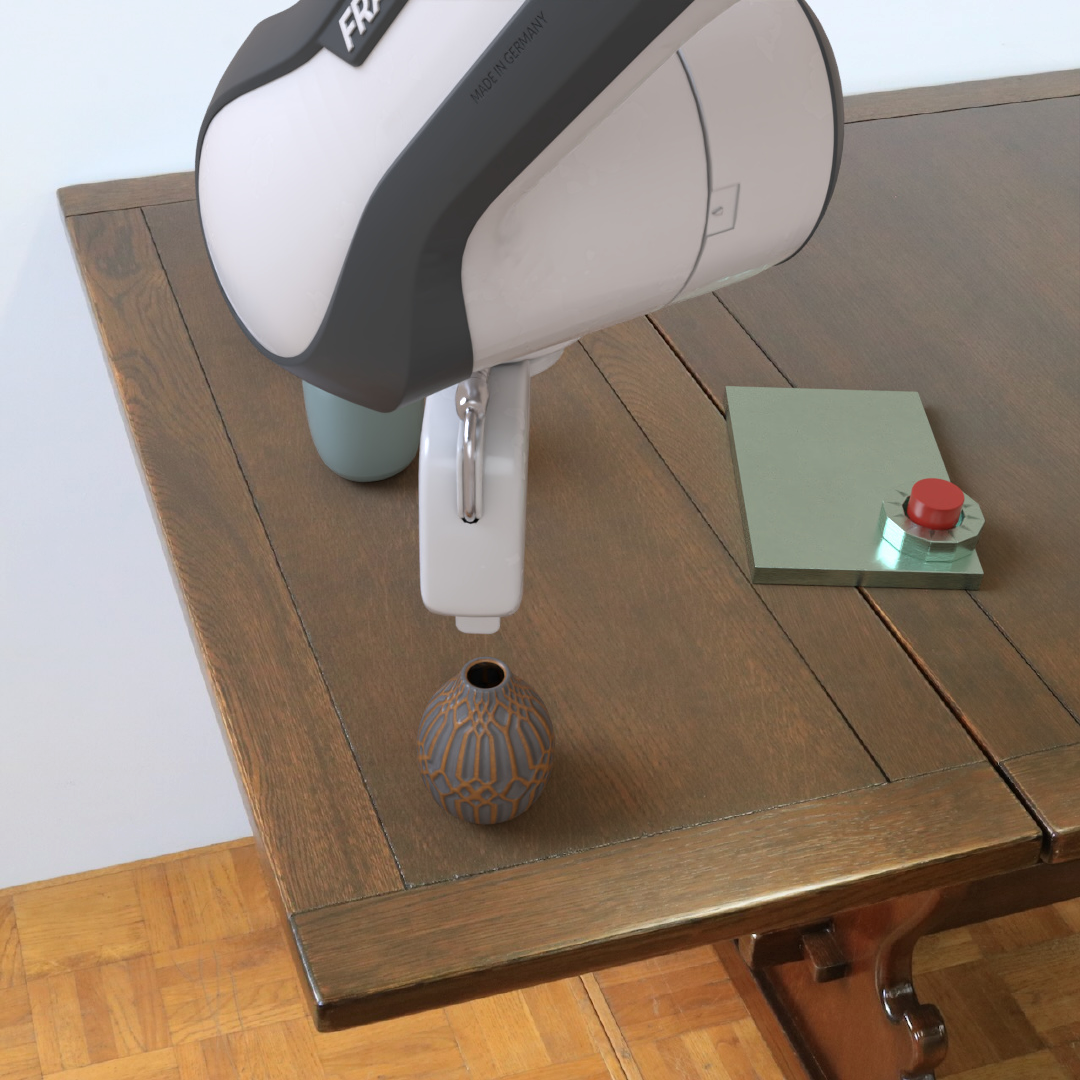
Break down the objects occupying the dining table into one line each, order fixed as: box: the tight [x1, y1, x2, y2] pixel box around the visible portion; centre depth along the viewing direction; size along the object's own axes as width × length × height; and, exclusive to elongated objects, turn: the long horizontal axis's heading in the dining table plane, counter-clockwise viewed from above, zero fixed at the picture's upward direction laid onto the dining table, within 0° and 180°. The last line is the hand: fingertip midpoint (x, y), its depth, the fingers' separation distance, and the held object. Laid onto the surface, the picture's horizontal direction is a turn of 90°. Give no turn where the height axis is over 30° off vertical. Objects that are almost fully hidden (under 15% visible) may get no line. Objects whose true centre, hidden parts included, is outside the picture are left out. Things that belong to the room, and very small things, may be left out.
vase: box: [416, 656, 556, 825], centre depth 66 cm, size 7×7×9 cm
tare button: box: [907, 478, 965, 530], centre depth 82 cm, size 3×3×2 cm
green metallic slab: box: [722, 385, 986, 591], centre depth 88 cm, size 20×14×3 cm
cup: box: [301, 379, 425, 483], centre depth 87 cm, size 8×8×10 cm
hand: (484, 547), depth 58 cm, fingers open, 8 cm apart
